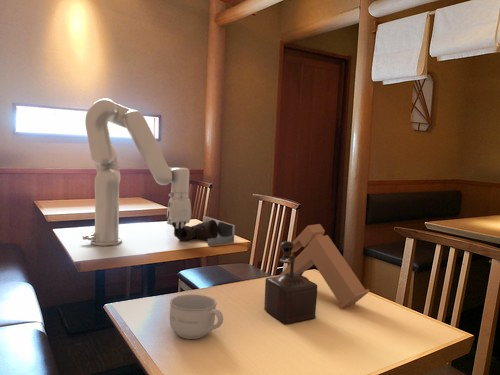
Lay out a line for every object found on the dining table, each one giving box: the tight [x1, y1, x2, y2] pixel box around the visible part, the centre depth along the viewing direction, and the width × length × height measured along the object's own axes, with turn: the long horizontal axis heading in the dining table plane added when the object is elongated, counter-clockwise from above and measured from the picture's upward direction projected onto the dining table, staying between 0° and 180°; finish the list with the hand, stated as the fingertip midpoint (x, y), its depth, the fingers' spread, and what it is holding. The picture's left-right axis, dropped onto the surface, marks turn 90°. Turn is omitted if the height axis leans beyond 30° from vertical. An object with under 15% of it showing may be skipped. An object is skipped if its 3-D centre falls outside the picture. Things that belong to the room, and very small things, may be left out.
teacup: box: [169, 293, 224, 340], centre depth 95 cm, size 14×11×8 cm
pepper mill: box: [263, 240, 318, 326], centre depth 111 cm, size 16×11×18 cm
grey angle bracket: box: [202, 215, 236, 247], centre depth 190 cm, size 14×24×8 cm, turn 40°
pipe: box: [176, 220, 218, 242], centre depth 188 cm, size 10×15×15 cm
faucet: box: [278, 223, 371, 310], centre depth 126 cm, size 7×23×25 cm
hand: (177, 236), depth 181 cm, fingers closed
